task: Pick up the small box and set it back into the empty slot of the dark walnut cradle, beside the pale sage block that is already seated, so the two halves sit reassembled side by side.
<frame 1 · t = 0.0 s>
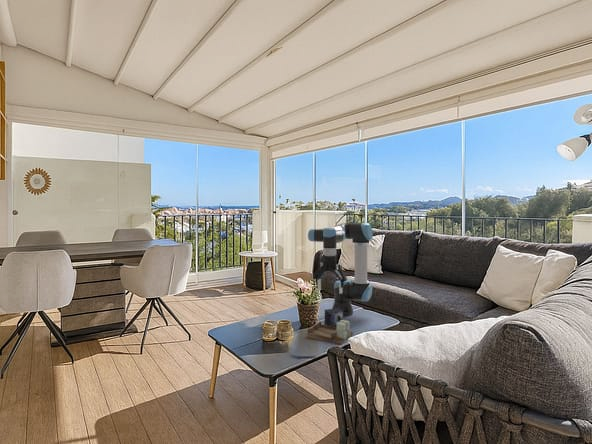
hand: (329, 291, 206), 28 cm above the table, fingers open, 13 cm apart
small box: (333, 326, 230), on the table
cradle: (330, 335, 213), on the table
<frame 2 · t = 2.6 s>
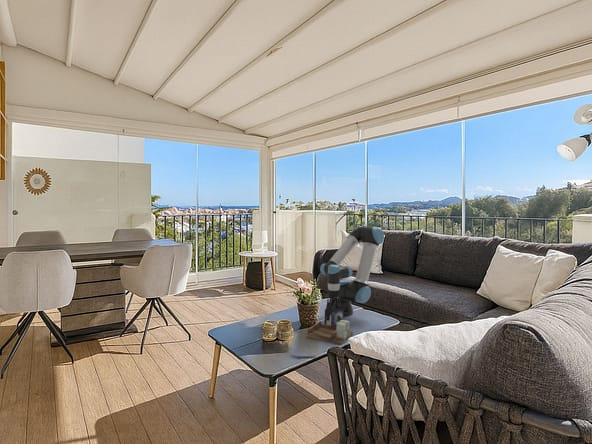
hand: (333, 322, 229), 2 cm above the table, fingers open, 13 cm apart
nothing on the table moved.
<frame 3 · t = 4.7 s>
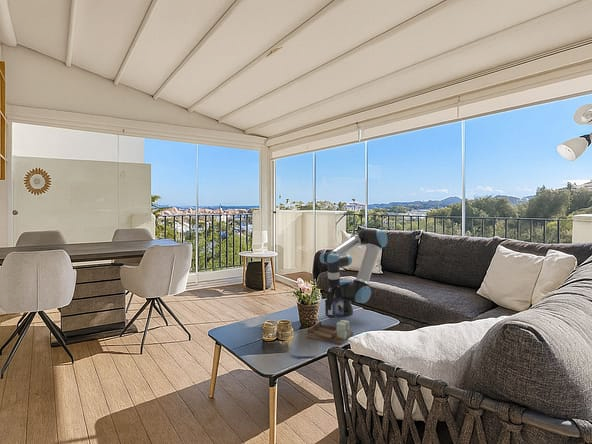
hand: (334, 311, 229), 9 cm above the table, fingers closed on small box, 12 cm apart
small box: (334, 315, 230), point 6 cm above the table, touching gripper
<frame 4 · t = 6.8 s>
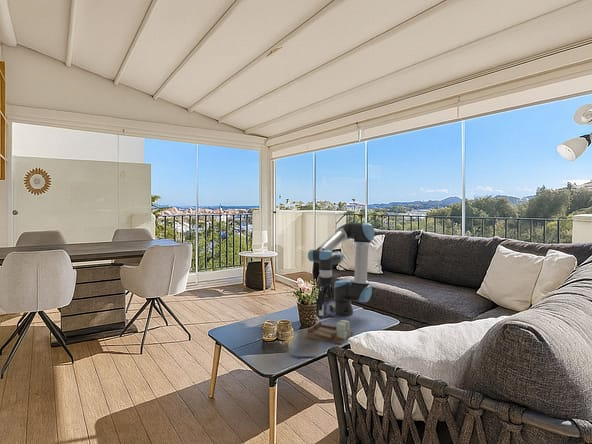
hand: (325, 312, 214), 14 cm above the table, fingers closed on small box, 12 cm apart
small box: (326, 316, 214), point 11 cm above the table, touching gripper
when the fingers open (4 cm above the table, at t = 9.4 s): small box stays where it is, resting on cradle.
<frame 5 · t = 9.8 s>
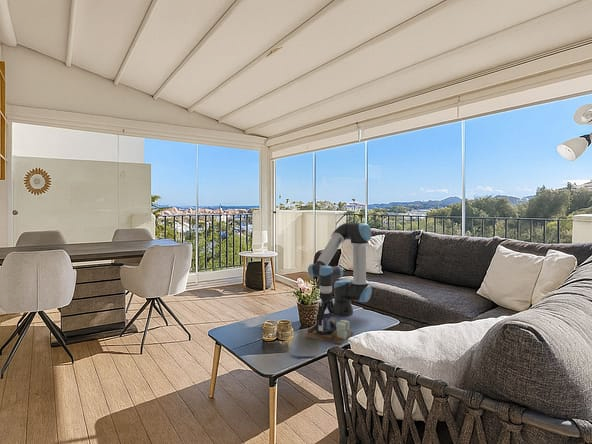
hand: (325, 327, 214), 5 cm above the table, fingers open, 13 cm apart
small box: (326, 332, 215), point 1 cm above the table, touching cradle
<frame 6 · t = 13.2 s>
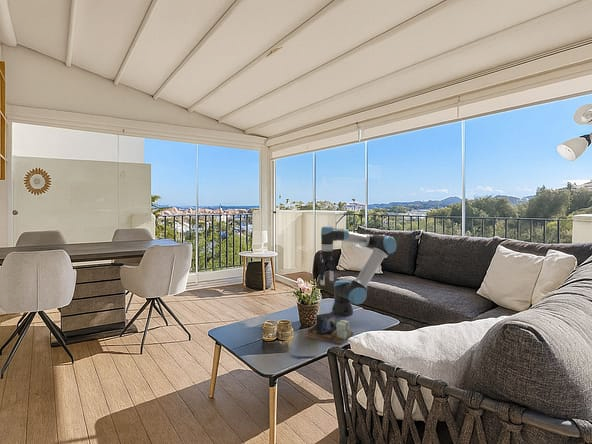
hand: (327, 282, 234), 27 cm above the table, fingers open, 13 cm apart
nothing on the table moved.
at the end: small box inside the target area on the cradle (0.0 cm from its centre), point 1.3 cm above the cradle's base; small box tilted 0°; the gripper is holding nothing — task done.
